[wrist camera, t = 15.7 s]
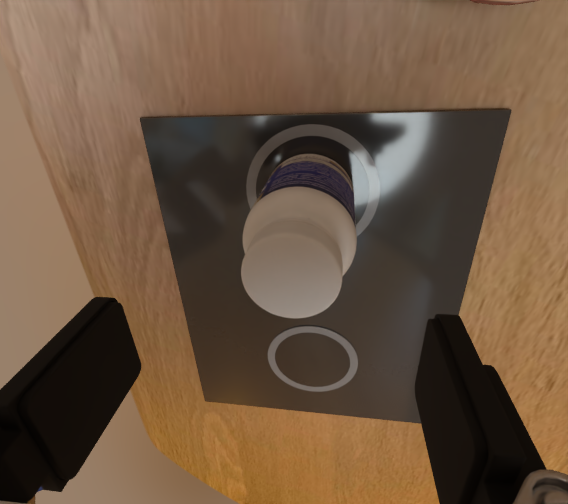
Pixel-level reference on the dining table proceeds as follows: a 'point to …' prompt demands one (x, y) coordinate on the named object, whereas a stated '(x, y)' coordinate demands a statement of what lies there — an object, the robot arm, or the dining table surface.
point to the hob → (364, 268)
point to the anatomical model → (503, 2)
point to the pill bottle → (300, 237)
